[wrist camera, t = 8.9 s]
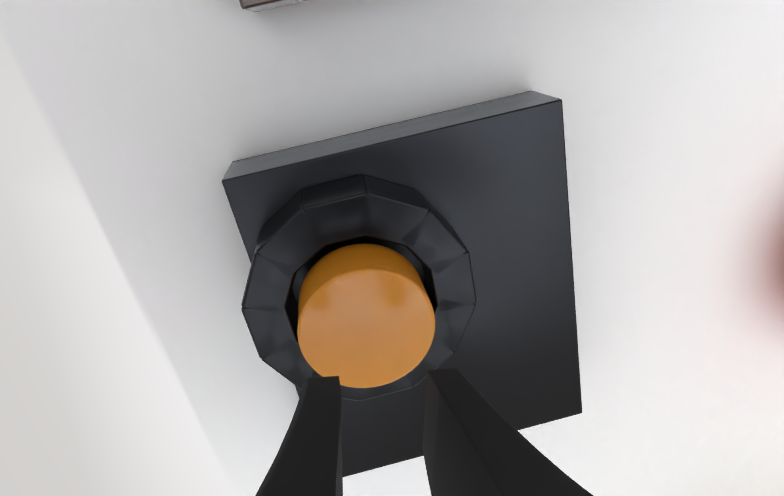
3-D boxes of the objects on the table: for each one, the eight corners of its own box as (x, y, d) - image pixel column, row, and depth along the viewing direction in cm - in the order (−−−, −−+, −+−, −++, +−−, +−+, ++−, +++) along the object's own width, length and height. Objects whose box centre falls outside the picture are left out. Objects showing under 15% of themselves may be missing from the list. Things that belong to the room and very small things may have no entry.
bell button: (317, 364, 16) (318, 403, 14) (283, 260, 14) (279, 290, 13) (432, 335, 16) (446, 369, 14) (410, 228, 14) (422, 254, 13)
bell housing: (321, 440, 21) (323, 525, 18) (224, 163, 16) (199, 203, 13) (558, 377, 22) (607, 448, 18) (533, 90, 17) (593, 108, 13)
